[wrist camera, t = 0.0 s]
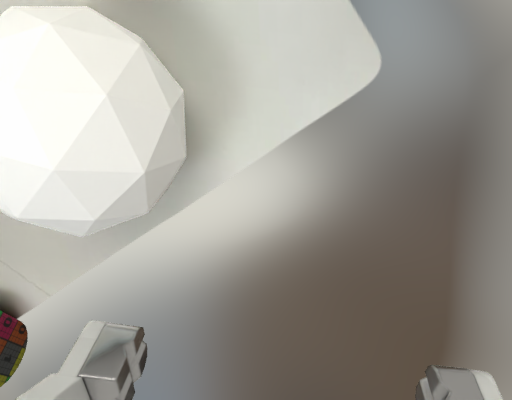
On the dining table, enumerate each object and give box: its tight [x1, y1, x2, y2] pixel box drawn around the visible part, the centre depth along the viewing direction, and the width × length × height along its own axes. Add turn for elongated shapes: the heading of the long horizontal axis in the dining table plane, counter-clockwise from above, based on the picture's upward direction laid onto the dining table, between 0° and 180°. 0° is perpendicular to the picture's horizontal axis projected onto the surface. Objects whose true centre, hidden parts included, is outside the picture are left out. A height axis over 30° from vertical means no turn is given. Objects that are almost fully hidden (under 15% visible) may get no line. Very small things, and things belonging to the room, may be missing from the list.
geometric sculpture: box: [0, 6, 186, 237], centre depth 33 cm, size 19×20×20 cm
